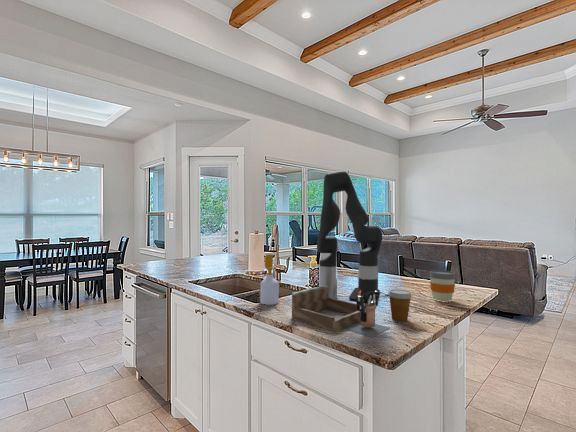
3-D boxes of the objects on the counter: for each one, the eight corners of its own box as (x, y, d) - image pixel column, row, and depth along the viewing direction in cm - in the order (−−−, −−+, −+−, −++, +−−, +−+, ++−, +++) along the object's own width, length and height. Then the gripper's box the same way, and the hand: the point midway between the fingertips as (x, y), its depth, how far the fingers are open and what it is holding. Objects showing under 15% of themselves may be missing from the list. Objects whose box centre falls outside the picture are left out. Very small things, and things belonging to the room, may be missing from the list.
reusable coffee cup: (457, 304, 162) (457, 275, 162) (430, 302, 166) (430, 273, 166) (453, 298, 174) (453, 271, 174) (428, 296, 178) (428, 269, 178)
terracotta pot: (364, 321, 129) (364, 294, 129) (379, 324, 125) (379, 297, 125) (356, 324, 125) (356, 297, 125) (370, 328, 120) (371, 300, 120)
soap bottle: (262, 305, 155) (263, 255, 155) (258, 301, 164) (259, 253, 164) (280, 304, 157) (280, 254, 157) (275, 300, 166) (276, 252, 166)
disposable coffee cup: (406, 316, 141) (406, 289, 141) (415, 323, 132) (415, 294, 132) (384, 316, 141) (385, 288, 141) (392, 323, 132) (392, 294, 132)
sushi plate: (355, 290, 194) (355, 283, 194) (408, 294, 184) (408, 288, 184) (348, 301, 167) (348, 294, 167) (409, 307, 157) (409, 300, 157)
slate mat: (363, 321, 134) (363, 320, 134) (390, 328, 126) (390, 327, 126) (344, 329, 124) (344, 328, 124) (372, 337, 116) (372, 336, 116)
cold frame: (325, 307, 154) (326, 284, 154) (367, 317, 138) (368, 292, 138) (291, 318, 136) (291, 293, 136) (335, 331, 121) (335, 303, 121)
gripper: (368, 273, 133) (368, 313, 133) (349, 277, 122) (349, 321, 122) (385, 275, 127) (385, 318, 127) (367, 280, 117) (366, 326, 117)
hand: (367, 319), depth 125 cm, fingers closed on terracotta pot, 5 cm apart
